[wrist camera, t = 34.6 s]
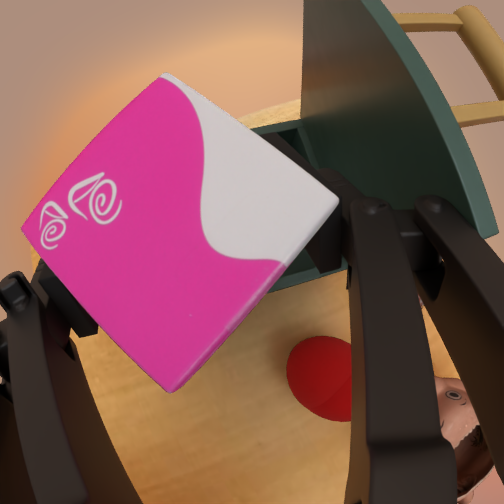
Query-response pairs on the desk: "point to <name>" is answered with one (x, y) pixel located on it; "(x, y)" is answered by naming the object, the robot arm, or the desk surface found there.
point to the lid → (396, 104)
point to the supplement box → (175, 227)
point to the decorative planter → (463, 437)
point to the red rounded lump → (322, 376)
